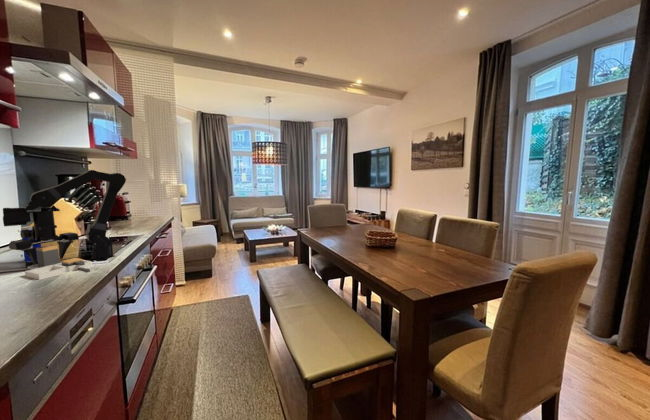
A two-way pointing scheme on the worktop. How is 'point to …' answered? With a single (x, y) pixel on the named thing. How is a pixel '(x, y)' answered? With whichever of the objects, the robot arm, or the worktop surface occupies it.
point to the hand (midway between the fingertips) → (48, 261)
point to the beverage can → (32, 245)
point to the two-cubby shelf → (54, 270)
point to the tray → (36, 266)
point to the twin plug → (74, 263)
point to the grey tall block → (47, 255)
